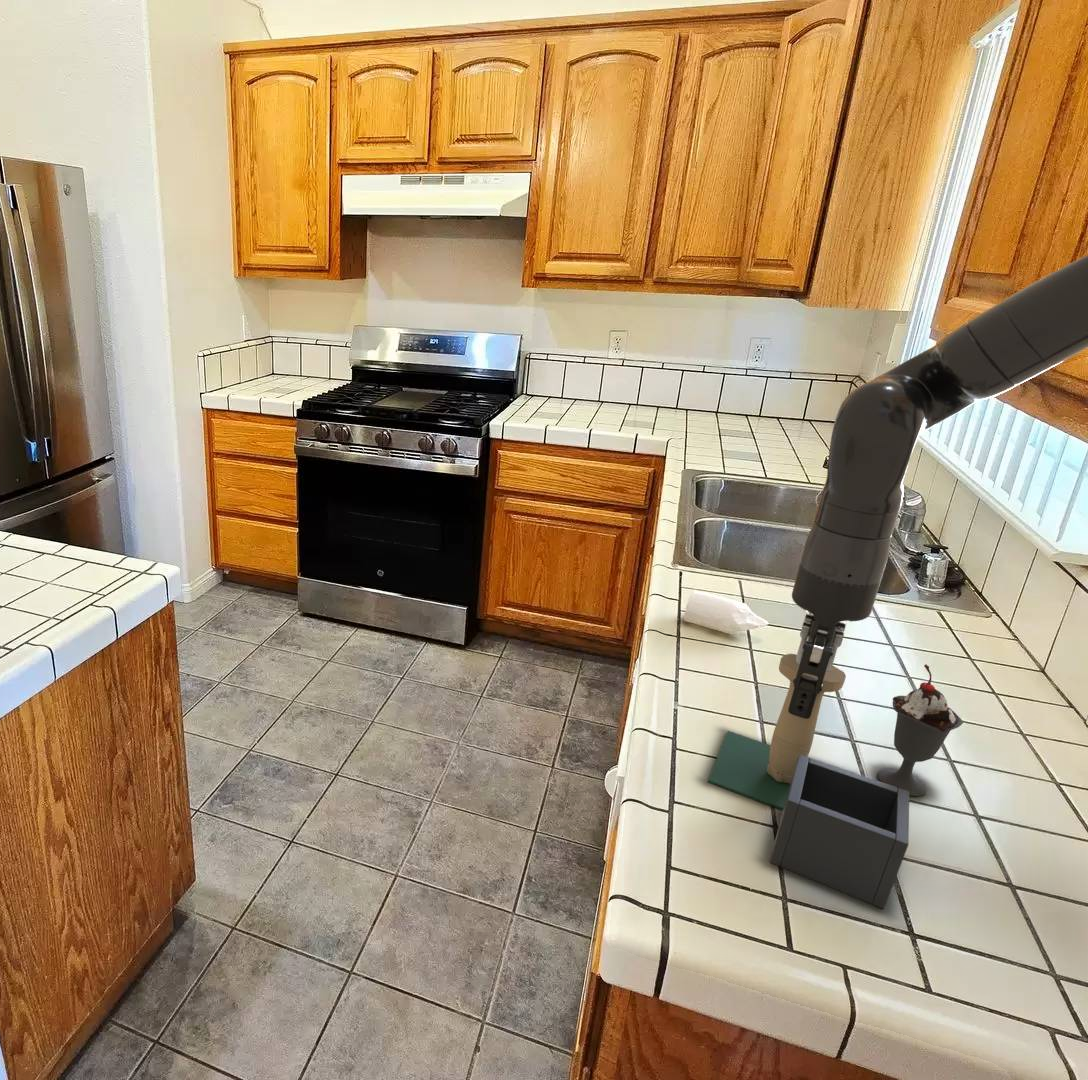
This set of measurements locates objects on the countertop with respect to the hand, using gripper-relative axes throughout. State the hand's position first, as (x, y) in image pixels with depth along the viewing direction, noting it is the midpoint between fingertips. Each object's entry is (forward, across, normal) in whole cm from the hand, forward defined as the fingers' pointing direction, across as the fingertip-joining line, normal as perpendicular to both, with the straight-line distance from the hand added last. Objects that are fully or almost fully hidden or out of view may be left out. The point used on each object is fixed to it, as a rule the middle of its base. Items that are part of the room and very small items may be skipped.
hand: (802, 702), depth 86 cm
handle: (+11, 0, 0) cm, 11 cm away
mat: (+11, 0, 0) cm, 11 cm away
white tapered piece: (+11, +36, +13) cm, 40 cm away
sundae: (+11, +8, -12) cm, 18 cm away
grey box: (+11, -11, -6) cm, 16 cm away
